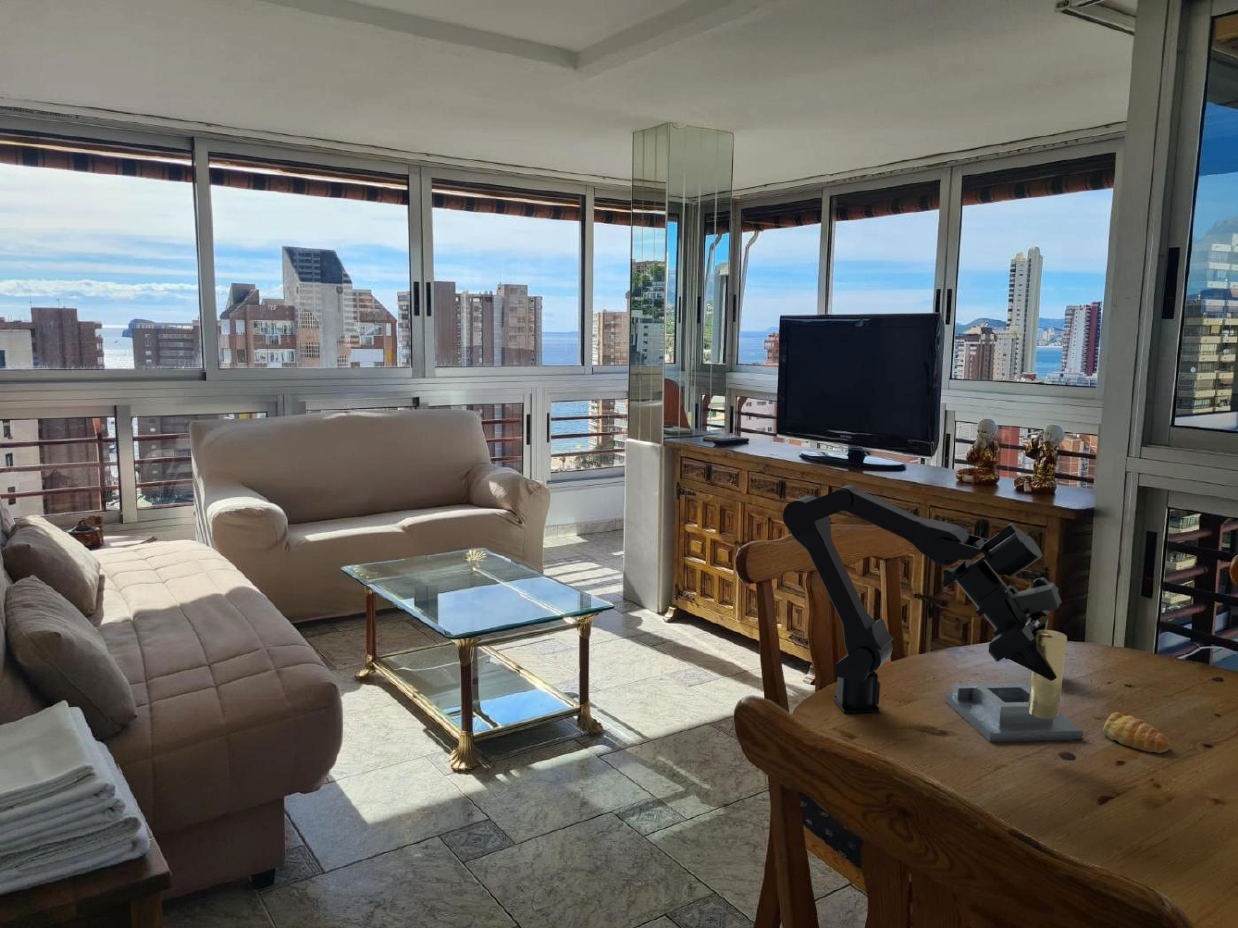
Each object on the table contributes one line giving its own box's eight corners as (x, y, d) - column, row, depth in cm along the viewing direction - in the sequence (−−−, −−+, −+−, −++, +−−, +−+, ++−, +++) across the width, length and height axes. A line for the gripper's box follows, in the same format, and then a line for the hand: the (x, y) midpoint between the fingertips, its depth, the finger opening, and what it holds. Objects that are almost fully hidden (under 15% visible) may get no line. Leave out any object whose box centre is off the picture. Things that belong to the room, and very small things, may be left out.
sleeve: (1039, 720, 141) (1047, 640, 139) (1021, 708, 145) (1029, 630, 143) (1064, 718, 141) (1073, 638, 139) (1046, 706, 146) (1054, 629, 144)
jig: (989, 741, 148) (991, 715, 147) (945, 701, 163) (947, 677, 163) (1082, 739, 149) (1084, 713, 149) (1029, 699, 165) (1031, 675, 164)
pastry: (1176, 748, 147) (1179, 726, 147) (1158, 760, 143) (1160, 737, 143) (1117, 727, 155) (1119, 706, 154) (1097, 737, 151) (1100, 716, 150)
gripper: (1018, 577, 134) (1094, 666, 130) (1041, 552, 149) (1108, 631, 145) (959, 618, 140) (1029, 704, 135) (986, 590, 155) (1050, 666, 151)
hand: (1056, 674), depth 141 cm, fingers closed on sleeve, 4 cm apart
